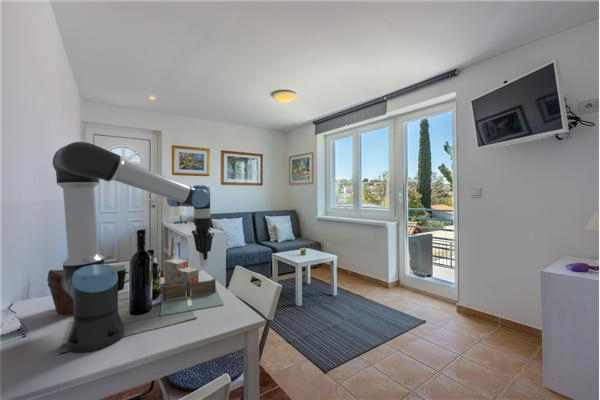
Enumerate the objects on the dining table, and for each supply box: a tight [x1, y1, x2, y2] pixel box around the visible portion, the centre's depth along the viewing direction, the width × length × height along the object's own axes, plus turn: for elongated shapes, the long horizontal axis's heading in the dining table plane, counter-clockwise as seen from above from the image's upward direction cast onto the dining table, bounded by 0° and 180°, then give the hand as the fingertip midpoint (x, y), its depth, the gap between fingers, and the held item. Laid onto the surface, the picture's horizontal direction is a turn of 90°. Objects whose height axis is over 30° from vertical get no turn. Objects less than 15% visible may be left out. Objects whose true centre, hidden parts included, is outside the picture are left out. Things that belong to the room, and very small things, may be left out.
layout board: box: [159, 288, 224, 317], centre depth 122 cm, size 24×24×1 cm
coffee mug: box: [114, 266, 130, 292], centre depth 136 cm, size 12×9×10 cm
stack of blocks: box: [163, 258, 200, 291], centre depth 142 cm, size 21×6×12 cm, turn 55°
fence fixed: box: [161, 281, 190, 301], centre depth 123 cm, size 2×11×7 cm, turn 115°
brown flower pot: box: [46, 269, 74, 316], centre depth 114 cm, size 18×20×18 cm
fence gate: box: [191, 278, 217, 296], centre depth 128 cm, size 1×11×6 cm, turn 115°
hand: (203, 265), depth 133 cm, fingers closed
